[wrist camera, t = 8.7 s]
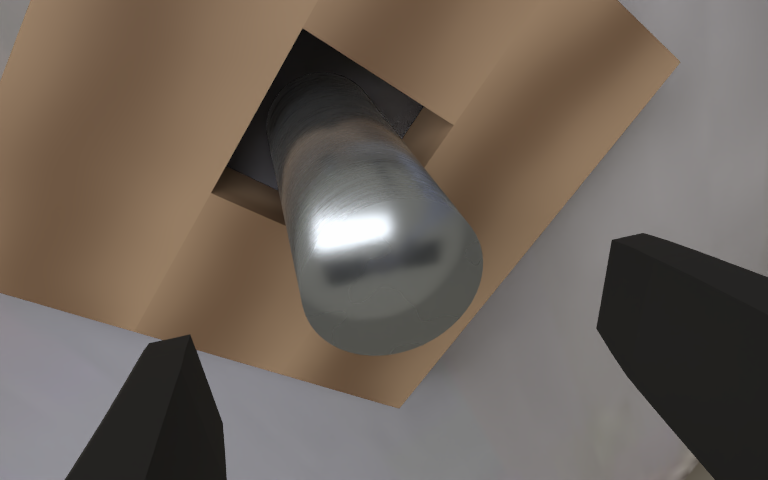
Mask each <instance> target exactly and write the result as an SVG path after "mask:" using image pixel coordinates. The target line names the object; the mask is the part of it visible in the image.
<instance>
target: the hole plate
mask: <svg viewBox="0 0 768 480" xmlns="http://www.w3.org/2000/svg"><path fill="white" fill-rule="evenodd" d="M302 28H303V29H305V30H306V31H308V32H309V33H311V34H312V35H314V36H316V37H317V38H319V39H320V40H322V41H323V42H325V43H326V44H328V45H330V46H331V47H333V48H334V49H336V50H337V51H339V52H340V53H342V54H344V55H345V56H347V57H348V58H350V59H351V60H353V61H354V62H356V63H358V64H359V65H361V66H362V67H364V68H365V69H367V70H368V71H370V72H372V73H373V74H375V75H376V76H378V77H379V78H381V79H382V80H384V81H386V82H387V83H389V84H390V85H392V86H393V87H395V88H396V89H398V90H399V91H401V92H403V93H404V94H406V95H407V96H409V97H410V98H412V99H413V100H415V101H417V102H418V103H420V104H421V105H423V106H424V107H423V109H422V110H421V112H420V113H419V115H418V116H417V118H416V119H415V121H414V122H413V124H412V125H411V127H410V128H409V130H408V131H407V133H406V134H405V136H404V137H403V139H402V140H403V142H404V143H405V144H406V145H407V147H408V148H409V149H410V150H411V152H412V153H413V154H414V156H415V157H416V158H417V159H418V161H419V162H420V163H421V164H422V166H423V167H424V168H425V169H426V171H427V172H428V173H429V174H430V176H431V177H432V178H433V179H434V181H435V182H436V183H437V184H438V186H439V187H440V188H441V190H442V191H443V192H444V193H445V195H446V196H447V197H448V198H449V200H450V201H451V202H452V203H453V205H454V206H455V207H456V208H457V210H458V211H459V212H460V213H461V215H462V216H463V217H464V218H465V220H466V221H467V222H468V224H469V225H470V226H471V227H472V229H473V231H474V232H475V234H476V235H477V238H478V240H479V242H480V245H481V250H482V254H483V272H482V277H481V282H480V285H479V288H478V290H477V293H476V295H475V297H474V299H473V301H472V302H471V304H470V305H469V307H468V308H467V310H466V311H465V312H464V314H463V315H462V316H461V317H460V318H459V319H458V320H457V321H456V322H455V323H454V324H453V325H452V326H451V327H450V328H449V329H448V330H446V331H445V332H444V333H442V334H441V335H439V336H438V337H436V338H435V339H433V340H431V341H430V342H428V343H426V344H424V345H422V346H419V347H417V348H414V349H411V350H408V351H405V352H401V353H397V354H392V355H383V356H368V355H359V354H354V353H350V352H347V351H344V350H341V349H339V348H337V347H335V346H333V345H331V344H330V343H328V342H327V341H325V340H324V339H323V338H322V337H320V336H319V335H318V334H317V333H316V332H315V330H314V329H313V328H312V326H311V325H310V323H309V321H308V320H307V318H306V316H305V313H304V309H303V306H302V302H301V297H300V292H299V287H298V282H297V277H296V273H295V268H294V263H293V258H292V253H291V248H290V244H289V239H288V234H287V229H286V224H285V219H284V215H283V210H282V205H281V200H280V195H279V191H278V190H275V189H273V188H271V187H269V186H267V185H265V184H263V183H261V182H258V181H256V180H254V179H252V178H250V177H248V176H246V175H243V174H241V173H239V172H237V171H235V170H233V169H231V168H229V167H226V165H227V163H228V161H229V160H230V158H231V156H232V154H233V152H234V151H235V149H236V147H237V145H238V143H239V142H240V140H241V138H242V136H243V134H244V133H245V131H246V129H247V127H248V125H249V124H250V122H251V120H252V118H253V116H254V115H255V113H256V111H257V109H258V107H259V106H260V104H261V102H262V100H263V98H264V97H265V95H266V93H267V91H268V89H269V88H270V86H271V84H272V82H273V80H274V79H275V77H276V75H277V73H278V71H279V70H280V68H281V66H282V64H283V62H284V61H285V59H286V57H287V55H288V53H289V52H290V50H291V48H292V46H293V44H294V42H295V41H296V39H297V37H298V35H299V33H300V32H301V30H302ZM679 63H680V61H679V60H678V59H677V58H676V57H675V56H674V55H673V54H672V53H671V52H670V51H669V50H668V49H667V48H666V47H665V46H664V45H663V44H661V43H660V42H659V41H658V40H657V39H656V38H655V37H654V36H653V35H652V34H651V33H650V32H649V31H648V30H647V29H646V28H645V27H644V26H643V25H642V24H641V23H640V22H639V21H638V20H637V19H636V18H635V17H634V16H633V15H632V14H631V13H630V12H629V11H628V10H627V9H626V8H625V7H624V6H623V5H622V4H621V3H620V2H619V1H618V0H31V1H30V3H29V6H28V9H27V11H26V14H25V17H24V19H23V22H22V25H21V27H20V30H19V33H18V35H17V38H16V41H15V43H14V46H13V49H12V51H11V54H10V57H9V59H8V62H7V65H6V67H5V70H4V73H3V75H2V78H1V81H0V293H3V294H6V295H10V296H13V297H17V298H20V299H23V300H27V301H30V302H34V303H37V304H41V305H44V306H48V307H51V308H54V309H58V310H61V311H65V312H68V313H72V314H75V315H79V316H82V317H85V318H89V319H92V320H96V321H99V322H103V323H106V324H110V325H113V326H116V327H120V328H123V329H127V330H130V331H134V332H137V333H141V334H144V335H147V336H151V337H154V338H158V339H161V340H167V339H171V338H176V337H180V336H185V335H189V334H190V335H191V338H192V340H193V343H194V346H195V349H196V350H199V351H203V352H206V353H209V354H213V355H216V356H220V357H223V358H227V359H230V360H234V361H237V362H240V363H244V364H247V365H251V366H254V367H258V368H261V369H265V370H268V371H271V372H275V373H278V374H282V375H285V376H289V377H292V378H296V379H299V380H302V381H306V382H309V383H313V384H316V385H320V386H323V387H327V388H330V389H333V390H337V391H340V392H344V393H347V394H351V395H354V396H358V397H361V398H364V399H368V400H371V401H375V402H378V403H382V404H385V405H389V406H392V407H395V408H400V407H401V406H402V404H403V403H404V402H405V401H406V400H407V398H408V397H409V396H410V395H411V393H412V392H413V391H414V390H415V388H416V387H417V386H418V385H419V384H420V382H421V381H422V380H423V379H424V377H425V376H426V375H427V374H428V372H429V371H430V370H431V369H432V367H433V366H434V365H435V364H436V363H437V361H438V360H439V359H440V358H441V356H442V355H443V354H444V353H445V351H446V350H447V349H448V348H449V347H450V345H451V344H452V343H453V342H454V340H455V339H456V338H457V337H458V335H459V334H460V333H461V332H462V331H463V329H464V328H465V327H466V326H467V324H468V323H469V322H470V321H471V319H472V318H473V317H474V316H475V315H476V313H477V312H478V311H479V310H480V308H481V307H482V306H483V305H484V303H485V302H486V301H487V300H488V299H489V297H490V296H491V295H492V294H493V292H494V291H495V290H496V289H497V287H498V286H499V285H500V284H501V283H502V281H503V280H504V279H505V278H506V276H507V275H508V274H509V273H510V271H511V270H512V269H513V268H514V267H515V265H516V264H517V263H518V262H519V260H520V259H521V258H522V257H523V255H524V254H525V253H526V252H527V251H528V249H529V248H530V247H531V246H532V244H533V243H534V242H535V241H536V239H537V238H538V237H539V236H540V235H541V233H542V232H543V231H544V230H545V228H546V227H547V226H548V225H549V223H550V222H551V221H552V220H553V219H554V217H555V216H556V215H557V214H558V212H559V211H560V210H561V209H562V207H563V206H564V205H565V204H566V202H567V201H568V200H569V199H570V198H571V196H572V195H573V194H574V193H575V191H576V190H577V189H578V188H579V186H580V185H581V184H582V183H583V182H584V180H585V179H586V178H587V177H588V175H589V174H590V173H591V172H592V170H593V169H594V168H595V167H596V166H597V164H598V163H599V162H600V161H601V159H602V158H603V157H604V156H605V154H606V153H607V152H608V151H609V150H610V148H611V147H612V146H613V145H614V143H615V142H616V141H617V140H618V138H619V137H620V136H621V135H622V134H623V132H624V131H625V130H626V129H627V127H628V126H629V125H630V124H631V122H632V121H633V120H634V119H635V118H636V116H637V115H638V114H639V113H640V111H641V110H642V109H643V108H644V106H645V105H646V104H647V103H648V102H649V100H650V99H651V98H652V97H653V95H654V94H655V93H656V92H657V90H658V89H659V88H660V87H661V86H662V84H663V83H664V82H665V81H666V79H667V78H668V77H669V76H670V74H671V73H672V72H673V71H674V70H675V68H676V67H677V66H678V65H679Z"/></svg>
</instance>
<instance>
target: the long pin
mask: <svg viewBox="0 0 768 480" xmlns="http://www.w3.org/2000/svg"><path fill="white" fill-rule="evenodd" d="M266 125H267V137H268V142H269V147H270V152H271V157H272V161H273V166H274V171H275V176H276V181H277V186H278V190H279V195H280V200H281V205H282V210H283V215H284V219H285V224H286V229H287V234H288V239H289V244H290V248H291V253H292V258H293V263H294V268H295V273H296V277H297V282H298V287H299V292H300V297H301V302H302V306H303V309H304V313H305V316H306V318H307V320H308V321H309V323H310V325H311V326H312V328H313V329H314V330H315V332H316V333H317V334H318V335H319V336H320V337H322V338H323V339H324V340H325V341H327V342H328V343H330V344H331V345H333V346H335V347H337V348H339V349H341V350H344V351H347V352H350V353H354V354H359V355H368V356H383V355H392V354H397V353H401V352H405V351H408V350H411V349H414V348H417V347H419V346H422V345H424V344H426V343H428V342H430V341H431V340H433V339H435V338H436V337H438V336H439V335H441V334H442V333H444V332H445V331H446V330H448V329H449V328H450V327H451V326H452V325H453V324H454V323H455V322H456V321H457V320H458V319H459V318H460V317H461V316H462V315H463V314H464V312H465V311H466V310H467V308H468V307H469V305H470V304H471V302H472V301H473V299H474V297H475V295H476V293H477V290H478V288H479V285H480V282H481V277H482V272H483V254H482V250H481V245H480V242H479V240H478V238H477V235H476V234H475V232H474V231H473V229H472V227H471V226H470V225H469V224H468V222H467V221H466V220H465V218H464V217H463V216H462V215H461V213H460V212H459V211H458V210H457V208H456V207H455V206H454V205H453V203H452V202H451V201H450V200H449V198H448V197H447V196H446V195H445V193H444V192H443V191H442V190H441V188H440V187H439V186H438V184H437V183H436V182H435V181H434V179H433V178H432V177H431V176H430V174H429V173H428V172H427V171H426V169H425V168H424V167H423V166H422V164H421V163H420V162H419V161H418V159H417V158H416V157H415V156H414V154H413V153H412V152H411V150H410V149H409V148H408V147H407V145H406V144H405V143H404V142H403V140H402V139H401V138H400V137H399V135H398V134H397V133H396V132H395V130H394V129H393V128H392V127H391V125H390V124H389V123H388V121H387V120H386V119H385V118H384V116H383V115H382V114H381V113H380V111H379V110H378V109H377V108H376V106H375V105H374V104H373V103H372V101H371V100H370V99H369V98H368V96H367V95H366V94H365V93H364V91H363V90H362V89H361V88H360V87H359V86H358V85H357V84H355V83H354V82H352V81H351V80H349V79H347V78H345V77H343V76H340V75H337V74H333V73H324V72H319V73H311V74H307V75H304V76H301V77H299V78H297V79H295V80H293V81H292V82H290V83H289V84H287V85H286V86H285V87H284V88H283V89H282V90H281V91H280V92H279V93H278V95H277V96H276V97H275V99H274V101H273V102H272V104H271V107H270V109H269V113H268V116H267V124H266Z"/></svg>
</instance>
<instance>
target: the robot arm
mask: <svg viewBox="0 0 768 480" xmlns="http://www.w3.org/2000/svg"><path fill="white" fill-rule="evenodd" d="M596 329H597V330H598V332H599V333H600V335H601V337H602V338H603V340H604V341H605V343H606V345H607V346H608V348H609V350H610V351H611V353H612V354H613V356H614V357H615V359H616V360H617V362H618V363H619V365H620V366H621V368H622V369H623V371H624V372H625V374H626V375H627V377H628V378H629V379H630V380H631V382H632V383H633V384H634V385H635V386H636V388H637V389H638V390H639V391H640V392H641V394H642V395H643V396H644V397H645V398H646V400H647V401H648V402H649V403H650V404H651V405H652V407H653V408H654V409H655V410H656V411H657V413H658V414H659V415H660V416H661V417H662V418H663V420H664V421H665V422H666V423H667V424H668V425H669V427H670V428H671V429H672V430H673V431H674V432H675V434H676V435H677V436H678V437H679V438H680V439H681V441H682V442H683V443H684V444H685V445H686V446H687V448H688V449H689V450H690V451H691V452H692V453H693V455H694V456H695V457H696V458H697V459H698V460H699V462H700V463H701V464H702V465H703V466H704V467H705V469H706V470H707V471H708V472H709V473H710V474H711V475H712V477H713V478H714V479H715V480H768V277H766V276H763V275H760V274H757V273H755V272H752V271H749V270H747V269H744V268H741V267H739V266H736V265H733V264H731V263H728V262H725V261H723V260H720V259H717V258H715V257H712V256H709V255H707V254H704V253H701V252H699V251H696V250H693V249H690V248H687V247H685V246H682V245H679V244H676V243H673V242H670V241H667V240H664V239H661V238H658V237H655V236H651V235H648V234H644V233H641V234H637V235H632V236H628V237H623V238H619V239H614V240H612V243H611V248H610V254H609V260H608V265H607V271H606V277H605V283H604V288H603V294H602V300H601V306H600V311H599V317H598V323H597V328H596ZM65 480H227V478H226V461H225V447H224V434H223V423H222V420H221V417H220V415H219V412H218V409H217V406H216V404H215V401H214V398H213V395H212V393H211V390H210V387H209V384H208V382H207V379H206V376H205V373H204V371H203V368H202V365H201V362H200V360H199V357H198V354H197V351H196V349H195V346H194V343H193V340H192V338H191V335H190V334H189V335H185V336H180V337H176V338H171V339H167V340H162V341H158V342H153V343H149V344H148V346H147V347H146V348H145V350H144V351H143V353H142V354H141V356H140V358H139V359H138V361H137V363H136V364H135V366H134V368H133V370H132V371H131V373H130V375H129V377H128V378H127V380H126V382H125V383H124V385H123V387H122V388H121V390H120V392H119V394H118V395H117V397H116V399H115V400H114V402H113V404H112V405H111V407H110V409H109V410H108V412H107V414H106V415H105V417H104V419H103V420H102V422H101V424H100V425H99V427H98V428H97V430H96V431H95V433H94V435H93V436H92V438H91V439H90V441H89V443H88V444H87V446H86V447H85V449H84V450H83V452H82V454H81V455H80V457H79V458H78V460H77V461H76V463H75V465H74V466H73V468H72V469H71V471H70V472H69V474H68V475H67V477H66V479H65Z"/></svg>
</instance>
